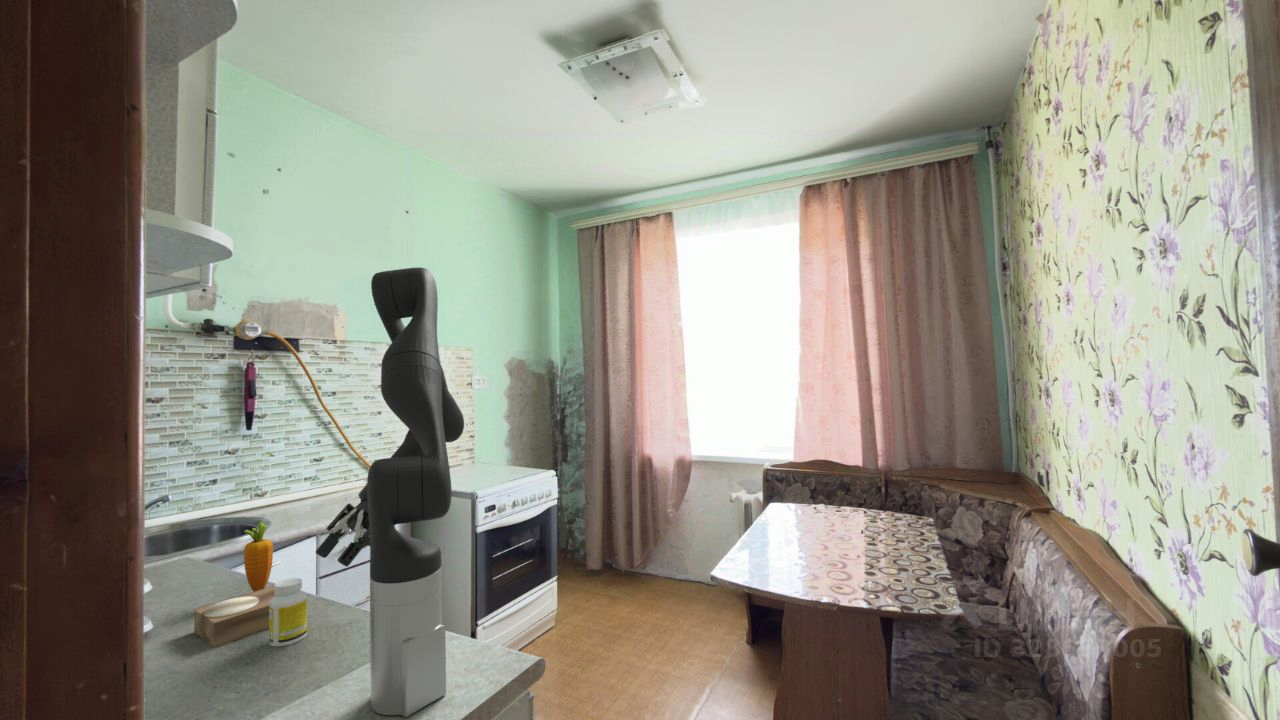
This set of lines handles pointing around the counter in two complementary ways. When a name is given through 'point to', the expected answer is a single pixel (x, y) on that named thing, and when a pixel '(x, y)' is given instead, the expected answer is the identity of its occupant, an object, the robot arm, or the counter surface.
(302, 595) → the supplement bottle
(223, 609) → the walnut board
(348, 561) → the robot arm
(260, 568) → the carrot
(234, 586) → the counter surface
